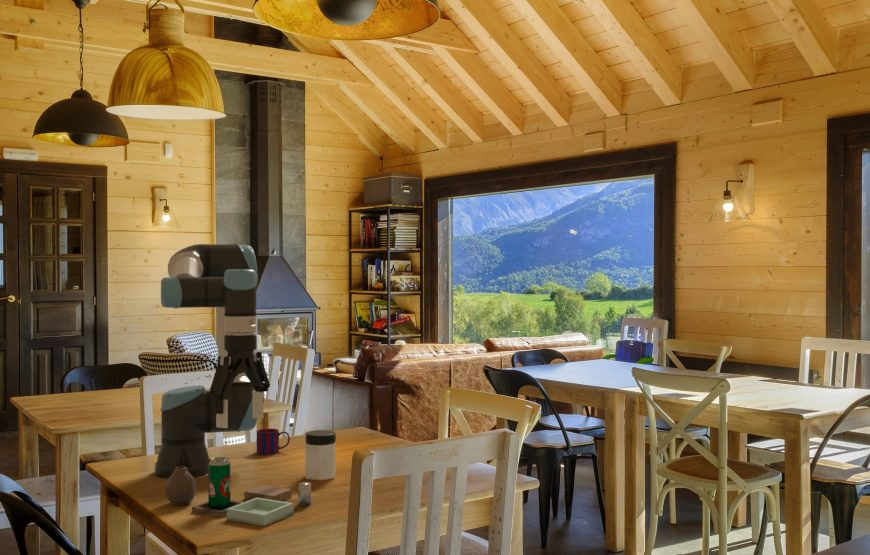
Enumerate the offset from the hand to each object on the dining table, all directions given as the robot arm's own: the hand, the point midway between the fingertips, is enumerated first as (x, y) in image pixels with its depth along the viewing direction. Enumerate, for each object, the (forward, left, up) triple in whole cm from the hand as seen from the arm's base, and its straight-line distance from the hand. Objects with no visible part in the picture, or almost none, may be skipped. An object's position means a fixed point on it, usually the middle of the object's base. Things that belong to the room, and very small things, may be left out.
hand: (240, 423), depth 202 cm
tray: (+10, -5, -20) cm, 23 cm away
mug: (-29, +50, -20) cm, 61 cm away
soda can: (-2, -5, -20) cm, 21 cm away
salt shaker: (+13, +8, -20) cm, 25 cm away
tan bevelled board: (+2, +8, -20) cm, 22 cm away
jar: (+1, +32, -20) cm, 38 cm away
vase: (-14, -5, -20) cm, 25 cm away
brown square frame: (-2, -5, -20) cm, 21 cm away
